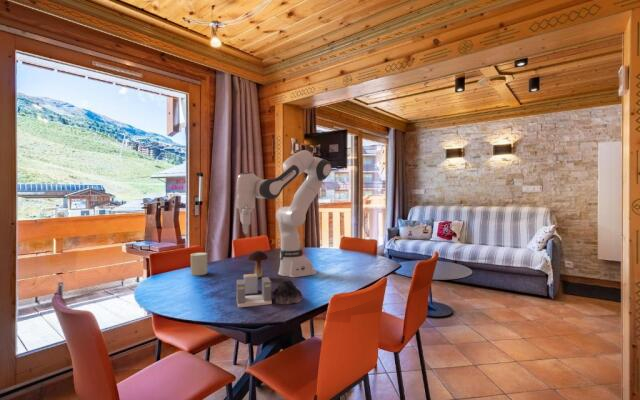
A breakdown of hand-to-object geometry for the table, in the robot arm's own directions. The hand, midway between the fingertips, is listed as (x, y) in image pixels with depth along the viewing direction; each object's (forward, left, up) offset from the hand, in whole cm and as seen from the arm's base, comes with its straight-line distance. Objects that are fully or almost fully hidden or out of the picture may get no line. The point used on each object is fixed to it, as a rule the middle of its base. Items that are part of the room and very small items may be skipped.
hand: (245, 232), depth 158 cm
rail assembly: (-2, +22, -27) cm, 35 cm away
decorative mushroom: (-8, -17, -28) cm, 34 cm away
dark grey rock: (-16, +24, -28) cm, 40 cm away
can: (+24, -37, -28) cm, 52 cm away
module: (-2, +8, -28) cm, 29 cm away
